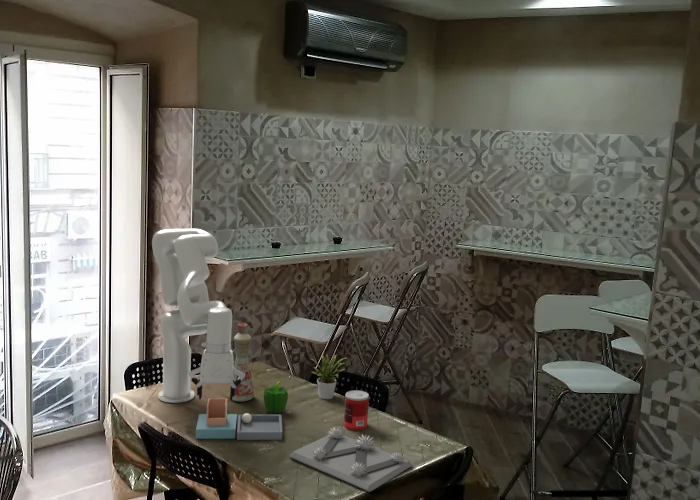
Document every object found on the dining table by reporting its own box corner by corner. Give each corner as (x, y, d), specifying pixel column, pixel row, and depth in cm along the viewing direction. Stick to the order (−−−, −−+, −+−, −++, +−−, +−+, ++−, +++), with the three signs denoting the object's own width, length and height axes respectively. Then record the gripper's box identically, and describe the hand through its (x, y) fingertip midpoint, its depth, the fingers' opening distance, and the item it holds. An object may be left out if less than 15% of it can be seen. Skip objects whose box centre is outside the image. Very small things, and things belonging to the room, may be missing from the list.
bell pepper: (276, 417, 226) (277, 389, 224) (258, 411, 230) (259, 383, 229) (292, 410, 232) (294, 383, 231) (275, 404, 237) (276, 377, 236)
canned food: (370, 424, 224) (372, 392, 222) (361, 432, 217) (362, 400, 215) (350, 419, 227) (351, 388, 226) (339, 427, 220) (341, 395, 218)
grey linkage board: (287, 460, 197) (288, 437, 196) (334, 437, 213) (335, 416, 212) (369, 495, 179) (371, 470, 178) (413, 468, 195) (415, 445, 194)
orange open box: (207, 417, 215) (208, 398, 214) (226, 417, 216) (227, 398, 215) (206, 425, 209) (206, 405, 208) (225, 425, 210) (226, 405, 209)
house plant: (356, 398, 247) (358, 355, 245) (330, 407, 237) (333, 363, 234) (328, 387, 256) (330, 346, 254) (302, 396, 246) (304, 353, 244)
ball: (254, 419, 219) (249, 413, 221) (251, 416, 217) (246, 409, 218) (247, 426, 218) (241, 419, 220) (244, 423, 216) (238, 416, 217)
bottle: (247, 392, 247) (250, 318, 243) (257, 400, 240) (260, 324, 236) (225, 395, 243) (227, 320, 239) (234, 404, 235) (237, 326, 231)
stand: (199, 422, 218) (199, 414, 218) (236, 422, 220) (236, 414, 219) (195, 438, 206) (195, 429, 206) (235, 438, 208) (235, 429, 208)
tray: (238, 421, 221) (238, 414, 220) (280, 421, 223) (281, 414, 222) (236, 439, 207) (236, 432, 207) (282, 439, 209) (282, 432, 209)
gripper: (188, 349, 204) (186, 402, 208) (246, 351, 207) (243, 403, 210) (191, 341, 212) (189, 392, 215) (246, 343, 214) (243, 394, 217)
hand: (215, 398), depth 212 cm, fingers open, 9 cm apart
